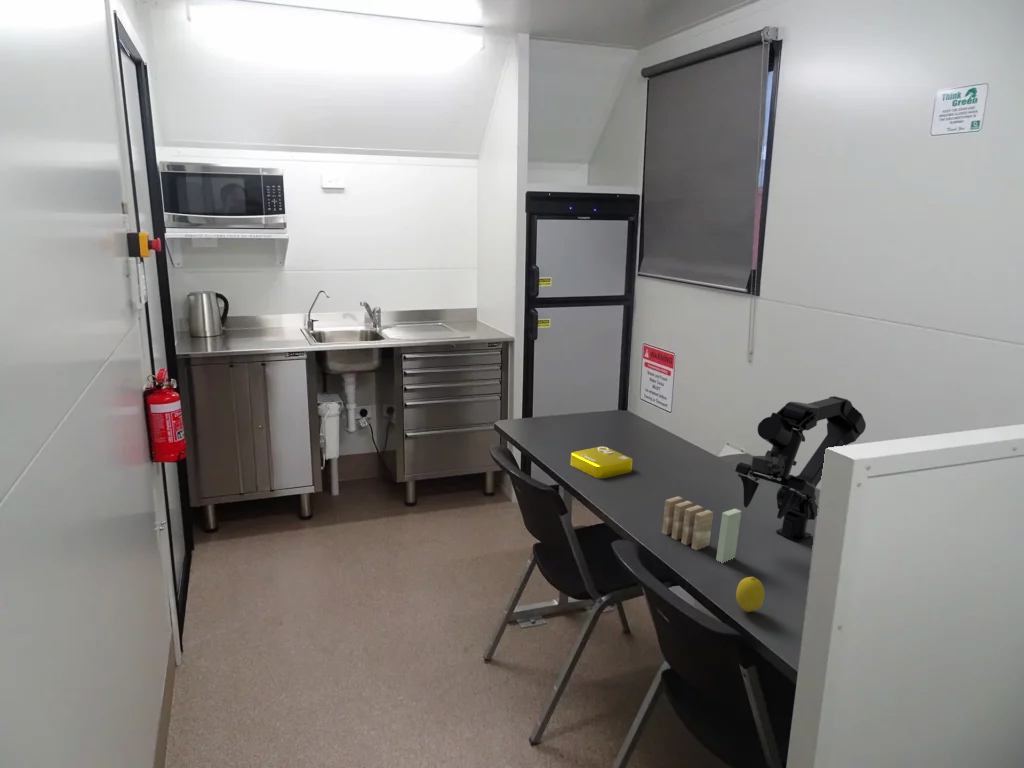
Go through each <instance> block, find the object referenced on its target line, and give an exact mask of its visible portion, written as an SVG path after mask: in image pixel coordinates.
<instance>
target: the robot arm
mask: <svg viewBox="0 0 1024 768" xmlns="http://www.w3.org/2000/svg"><path fill="white" fill-rule="evenodd" d="M825 419H826V421H827V423H826V433H827V434H826V436H825V437H824V439H823V440H822V441H821V443H820V445H818V447H817V449H816V450H815V452H814V453H813V454H812V456H811V457H810V458H809V460H808V462H807V463H806V464H805V466H804V467H803V468H802V471H800V472H799V474H797V475H793V474H790V473H791V471H792V467H793V466H794V467H796V466H797V463H798V461H795V459H796V457H797V455H798V451H799V449H800V445H801V442H803V443H805V441H806V437H805V435H804V431H809V430H811V429H813V428H815V427H817V424H818V422H819V421H823V420H825ZM866 424H867V423H866V421H865V419H864V416H863V414H862V413H861V412H860V411H858V409H856V408H855V407H854V406H853V404H852V402H851V400H849V399H848V398H847V399H846V398H843V397H840V396H829V397H828V398H825V399H821V400H816V401H813V402H808V403H805V402H798V401H789V402H787V403H785V405H784V406H782V407H781V409H779V410H778V411H777V412H772V413H771V415H770V416H768V417H764V418H763V419H761V421H760V422H759V423H758V424H757V433H758V436H759V437H760V438H761V439H763V440H765V441H766V442H767V443H769V444H771V445H772V447H771V448H770V450H767V451H766V452H765V455H753V456H752V457H751V463H750V464H748V463H744V462H741V461H740V462H739V463H738V464H736V466H735V468H734V473H736V474H737V476H738V477H739V478H740V479H741V482H742V486H743V507H744V508H748V507H749V505H750V504H751V502H752V500H753V497H754V496H755V495H756V494H755V493H756V491H757V490H758V487H759V485H760V483H759V482H757V481H759V480H763V481H766V482H769V483H773V484H776V485H779V486H781V487H779V488H778V490H777V493H776V506H777V509H778V512H777V515H776V518H777V519H779V520H781V519H782V518H783V519H782V524H781V525H782V526H781V528H778V529H776V531H775V533H776V534H779V535H781V536H783V537H785V538H788V539H790V540H792V541H795V542H802V541H803V540H806V539H808V538H810V537H812V533H809V532H807V528H808V522H809V520H810V521H811V520H812V521H815V519H816V518H817V517H816V516H818V514H817V508H819V506H818V504H817V503H816V499H817V490H816V489H817V486H818V485H819V483H820V482H821V480H822V479H821V476H822V469H823V463H824V454H825V449H826V448H828V447H834V446H843V445H845V446H847V445H848V446H849V444H850V445H851V444H852V443H854V442H856V441H857V439H859V438H860V436H861V435H862V434H863V433H864V432H865V430H866V427H867V426H866Z"/></svg>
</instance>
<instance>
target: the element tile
mask: <svg viewBox="0 0 1024 768" xmlns="http://www.w3.org/2000/svg"><path fill="white" fill-rule="evenodd" d="M633 461H634V460H633V458H632V457H630V456H627V455H624V454H622V453H621V452H619V451H616V450H615V449H611V448H609V447H607V446H604V445H602V446H596V447H591V448H587V449H586V448H585V449H582V450H577V451H572V452H571V453H570V466H571V467H573V468H575V469H577V470H579V471H581V472H583V473H585V474H587V475H590V476H591V477H593V478H595V479H607V478H608V479H609V478H611V477H616V476H620V475H623V474H628V473H632V468H633Z"/></svg>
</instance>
